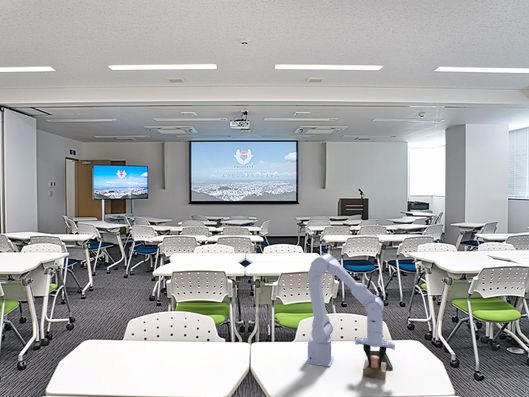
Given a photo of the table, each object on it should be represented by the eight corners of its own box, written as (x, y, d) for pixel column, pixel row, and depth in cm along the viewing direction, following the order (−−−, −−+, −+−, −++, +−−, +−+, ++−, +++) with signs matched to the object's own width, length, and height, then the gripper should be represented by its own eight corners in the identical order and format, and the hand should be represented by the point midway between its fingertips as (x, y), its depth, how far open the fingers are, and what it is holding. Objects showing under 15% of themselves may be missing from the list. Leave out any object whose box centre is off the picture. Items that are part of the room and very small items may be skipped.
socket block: (363, 376, 140) (363, 368, 140) (365, 366, 147) (365, 359, 147) (385, 380, 137) (385, 372, 137) (386, 370, 144) (386, 362, 144)
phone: (385, 351, 159) (393, 368, 144) (385, 353, 159) (393, 371, 144) (366, 350, 160) (372, 367, 145) (366, 353, 160) (372, 370, 145)
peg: (370, 374, 141) (370, 358, 141) (370, 369, 144) (370, 354, 144) (378, 375, 140) (379, 360, 140) (379, 371, 143) (379, 356, 143)
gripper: (354, 331, 140) (354, 366, 141) (394, 336, 135) (394, 372, 136) (356, 324, 147) (356, 358, 147) (394, 329, 142) (394, 363, 142)
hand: (374, 364), depth 142 cm, fingers closed on peg, 3 cm apart
